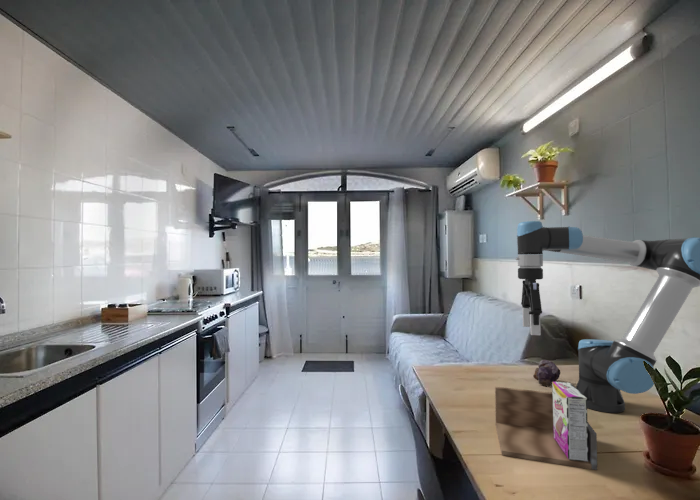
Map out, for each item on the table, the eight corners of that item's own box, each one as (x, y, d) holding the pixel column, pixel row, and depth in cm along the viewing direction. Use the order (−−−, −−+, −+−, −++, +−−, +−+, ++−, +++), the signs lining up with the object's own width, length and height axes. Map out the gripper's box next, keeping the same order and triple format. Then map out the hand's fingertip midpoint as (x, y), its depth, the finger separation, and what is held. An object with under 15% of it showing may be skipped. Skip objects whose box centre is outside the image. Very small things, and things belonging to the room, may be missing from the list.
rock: (534, 388, 145) (562, 391, 141) (534, 368, 144) (562, 371, 140) (532, 375, 156) (558, 377, 152) (531, 356, 155) (558, 358, 151)
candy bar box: (552, 438, 100) (551, 380, 101) (571, 440, 99) (570, 382, 99) (567, 460, 89) (566, 396, 90) (589, 463, 88) (588, 397, 89)
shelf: (574, 435, 104) (574, 394, 105) (597, 470, 87) (596, 421, 87) (495, 424, 111) (495, 386, 111) (501, 455, 94) (501, 410, 94)
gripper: (512, 266, 131) (513, 323, 130) (524, 268, 107) (526, 338, 106) (534, 266, 128) (535, 324, 128) (552, 268, 105) (553, 339, 104)
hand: (531, 330), depth 117 cm, fingers open, 13 cm apart
